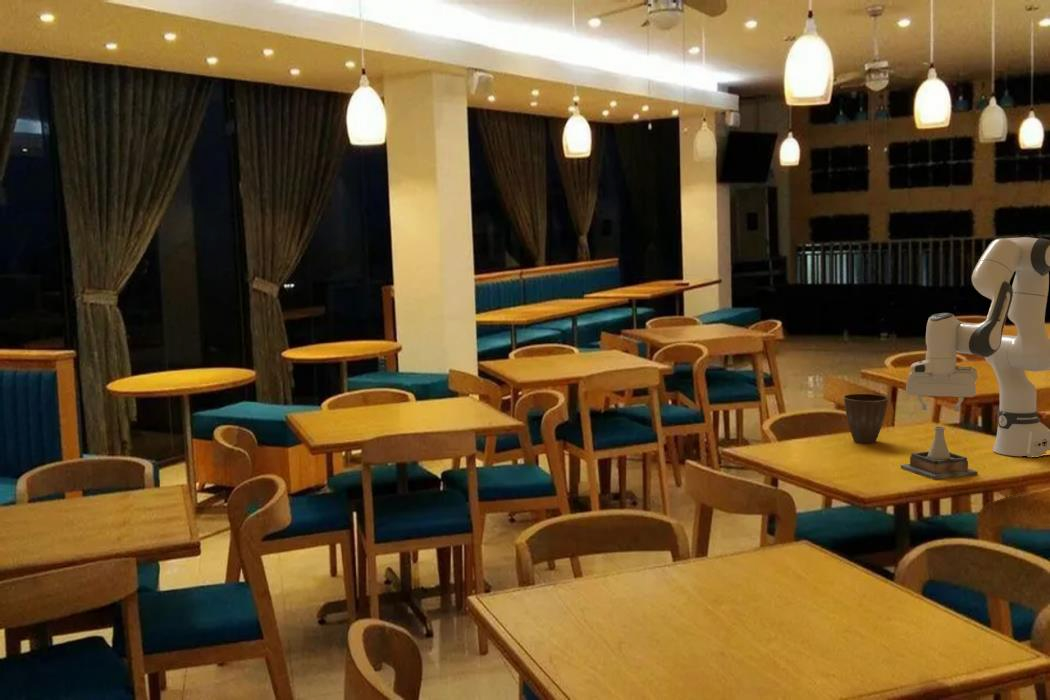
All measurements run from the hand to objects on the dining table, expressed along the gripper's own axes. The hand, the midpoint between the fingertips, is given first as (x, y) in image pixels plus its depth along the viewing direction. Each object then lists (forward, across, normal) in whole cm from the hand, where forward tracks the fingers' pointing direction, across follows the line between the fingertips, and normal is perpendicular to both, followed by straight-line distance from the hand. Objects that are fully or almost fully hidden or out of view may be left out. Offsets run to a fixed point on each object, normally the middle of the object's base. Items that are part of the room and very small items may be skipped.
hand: (940, 410), depth 328 cm
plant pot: (+20, +26, -38) cm, 50 cm away
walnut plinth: (+19, 0, 0) cm, 19 cm away
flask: (+16, 0, 0) cm, 16 cm away
